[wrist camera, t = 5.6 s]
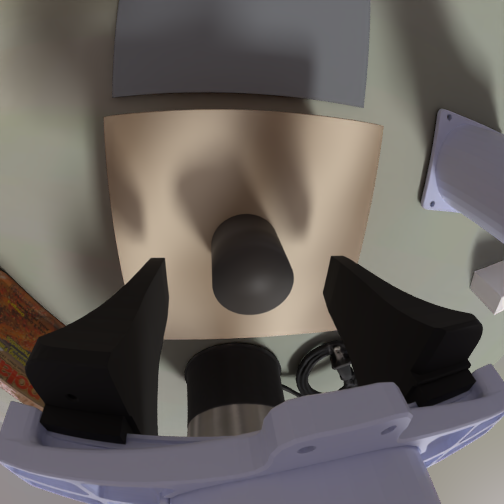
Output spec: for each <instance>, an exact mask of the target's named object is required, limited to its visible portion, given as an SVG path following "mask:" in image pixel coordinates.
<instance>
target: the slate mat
mask: <svg viewBox="0 0 504 504" xmlns="http://www.w3.org/2000/svg"><path fill="white" fill-rule="evenodd" d="M369 32H370V0H119V6H118V14H117V23H116V33H115V45H114V61H113V91H112V97H122V96H132V95H144V94H159V93H182V92H227V93H250V94H265V95H278V96H288V97H297V98H305V99H313V100H320V101H327V102H333V103H339V104H345V105H351V106H356V107H361V108H364V99H365V89H366V78H367V66H368V51H369Z"/></svg>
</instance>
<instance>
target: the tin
mask: <svg viewBox="0 0 504 504" xmlns="http://www.w3.org/2000/svg"><path fill="white" fill-rule="evenodd" d="M63 327H65V325H64V324H63V323H61V322H60V321H59V320H58V319H56V318H55V317H54V316H53V315H51V314H50V313H49V312H48V311H47V310H45V309H44V308H43V307H42V306H41V305H40V304H39V303H37V302H36V301H35V300H34V299H33V298H32V297H31V296H30V295H29V294H28V293H26V292H25V291H24V290H23V289H22V288H21V287H20V286H19V285H18V284H17V283H16V282H15V281H14V280H13V279H12V278H11V277H9V276H8V275H7V274H6V273H4V272H3V271H1V270H0V387H1V388H2V389H4V390H5V391H6V392H8V393H9V394H10V395H12V396H13V397H15V398H16V399H18V400H19V401H20V402H22V403H23V404H26V405H30V406H33V407H36V408H38V409H39V410H41V411H42V412H43V409H44V406H45V403H44V402H43V400H42V399H41V398H40V396H39V395H38V394H37V392H36V391H35V389H34V388H33V386H32V385H31V383H30V382H29V380H28V378H27V376H26V373H25V366H26V363H27V360H28V358H29V356H30V354H31V352H32V349H33V347H34V345H35V343H36V341H37V339H38V337H40V336H43V335H45V334H48V333H50V332H53V331H56V330H58V329H60V328H63Z"/></svg>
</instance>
